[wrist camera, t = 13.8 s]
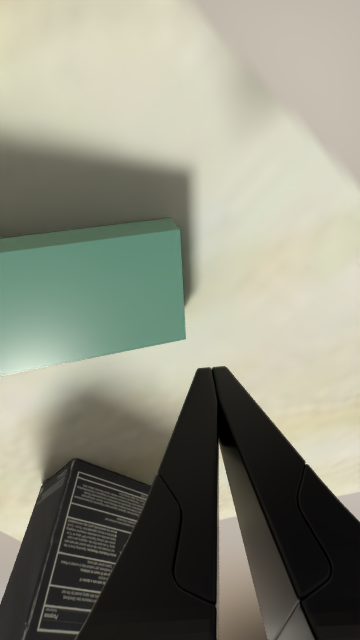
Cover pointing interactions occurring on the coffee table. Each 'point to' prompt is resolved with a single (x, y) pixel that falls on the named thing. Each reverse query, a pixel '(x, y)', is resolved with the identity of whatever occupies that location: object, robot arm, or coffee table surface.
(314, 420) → the coffee table surface
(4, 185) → the coffee table surface
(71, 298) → the tile
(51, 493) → the small box
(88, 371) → the coffee table surface
